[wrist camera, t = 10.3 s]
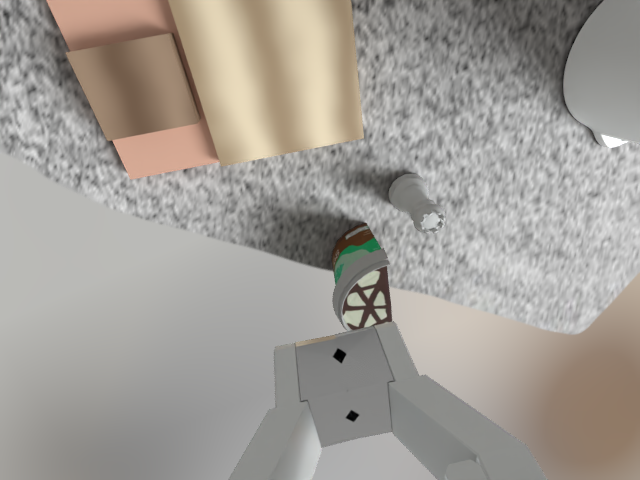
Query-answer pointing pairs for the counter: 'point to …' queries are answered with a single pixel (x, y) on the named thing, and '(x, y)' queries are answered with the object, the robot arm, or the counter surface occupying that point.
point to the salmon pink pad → (124, 25)
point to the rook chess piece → (416, 203)
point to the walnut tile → (136, 86)
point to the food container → (360, 280)
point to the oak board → (272, 73)
